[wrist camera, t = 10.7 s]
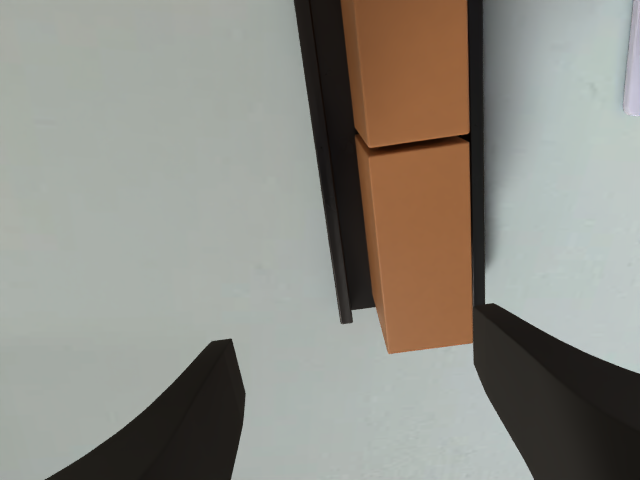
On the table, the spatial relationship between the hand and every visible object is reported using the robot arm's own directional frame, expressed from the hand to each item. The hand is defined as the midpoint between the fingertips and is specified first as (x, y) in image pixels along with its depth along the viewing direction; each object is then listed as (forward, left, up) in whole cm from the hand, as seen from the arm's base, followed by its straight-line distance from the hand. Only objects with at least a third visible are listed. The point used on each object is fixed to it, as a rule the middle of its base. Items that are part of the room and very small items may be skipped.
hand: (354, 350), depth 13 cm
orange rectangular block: (-3, -1, -9) cm, 9 cm away
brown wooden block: (-3, -9, -9) cm, 13 cm away
